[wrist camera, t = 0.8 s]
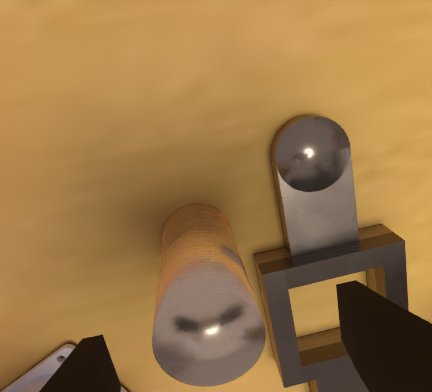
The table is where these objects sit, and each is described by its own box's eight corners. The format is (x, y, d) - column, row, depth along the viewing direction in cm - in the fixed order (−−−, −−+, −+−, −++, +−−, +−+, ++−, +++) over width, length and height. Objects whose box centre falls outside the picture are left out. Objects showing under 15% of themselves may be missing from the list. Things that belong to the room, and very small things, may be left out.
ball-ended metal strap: (395, 412, 28) (415, 443, 25) (290, 439, 27) (301, 472, 25) (372, 98, 20) (397, 101, 18) (228, 132, 20) (235, 139, 18)
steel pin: (191, 279, 23) (199, 403, 14) (147, 232, 21) (128, 337, 13) (244, 240, 22) (286, 344, 14) (203, 190, 21) (220, 269, 12)
